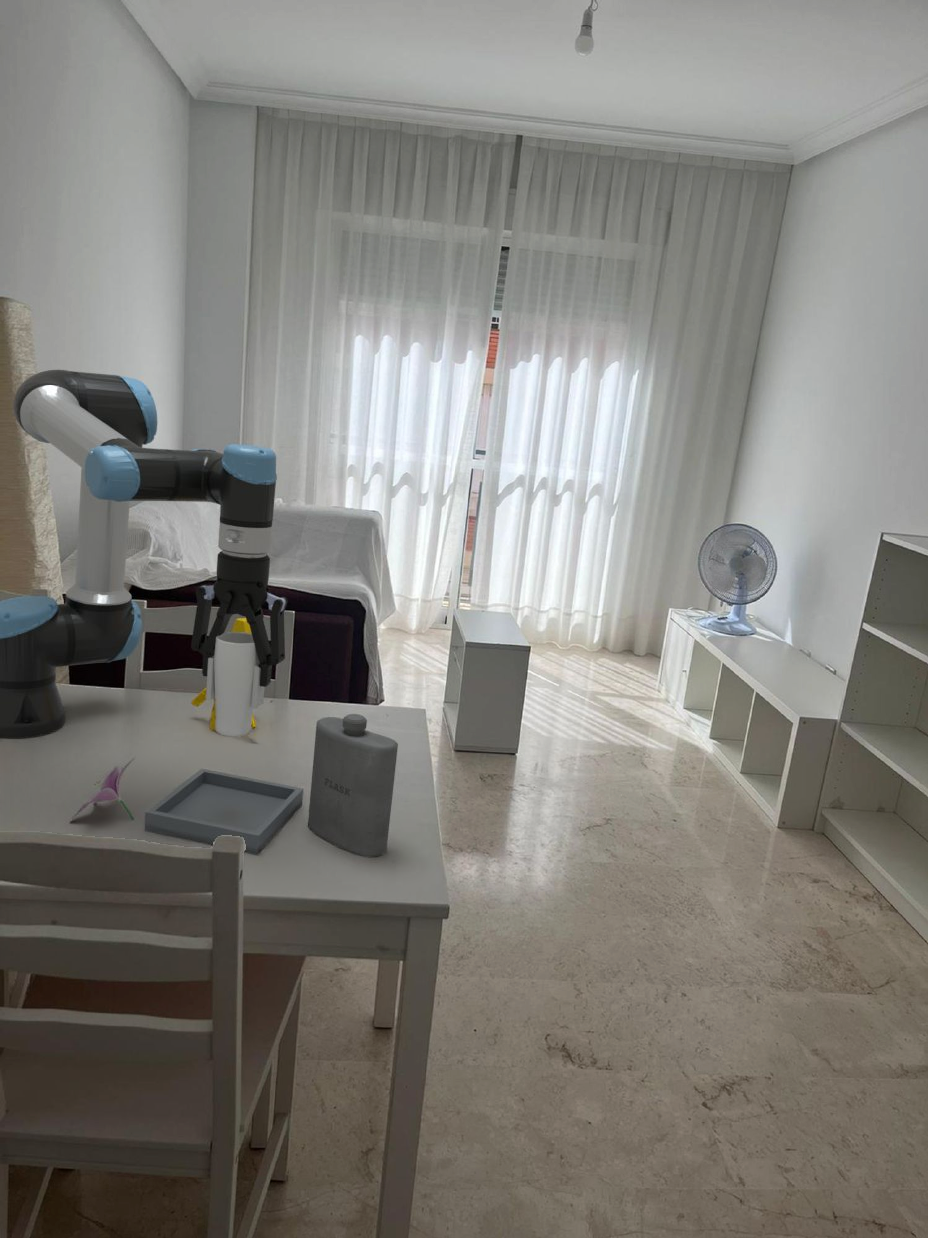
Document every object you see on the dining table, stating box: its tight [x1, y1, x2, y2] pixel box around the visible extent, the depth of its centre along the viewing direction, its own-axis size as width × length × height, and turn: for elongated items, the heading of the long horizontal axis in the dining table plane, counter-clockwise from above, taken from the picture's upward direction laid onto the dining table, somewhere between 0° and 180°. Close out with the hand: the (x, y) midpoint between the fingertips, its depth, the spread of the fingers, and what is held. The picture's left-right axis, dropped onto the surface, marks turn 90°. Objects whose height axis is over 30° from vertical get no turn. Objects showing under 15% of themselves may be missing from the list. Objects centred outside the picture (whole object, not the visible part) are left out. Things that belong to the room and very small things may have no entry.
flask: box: [307, 713, 399, 858], centre depth 140 cm, size 15×6×20 cm, turn 53°
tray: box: [144, 768, 304, 855], centre depth 144 cm, size 18×18×3 cm
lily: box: [69, 757, 135, 823], centre depth 139 cm, size 12×12×10 cm
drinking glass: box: [214, 631, 259, 738], centre depth 139 cm, size 7×7×15 cm
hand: (234, 701), depth 140 cm, fingers closed on drinking glass, 7 cm apart
